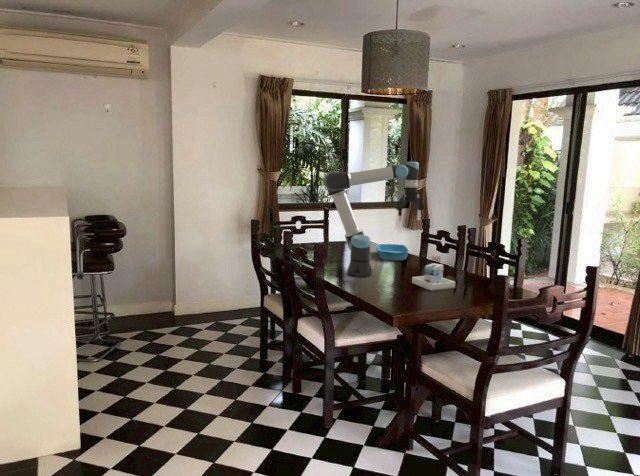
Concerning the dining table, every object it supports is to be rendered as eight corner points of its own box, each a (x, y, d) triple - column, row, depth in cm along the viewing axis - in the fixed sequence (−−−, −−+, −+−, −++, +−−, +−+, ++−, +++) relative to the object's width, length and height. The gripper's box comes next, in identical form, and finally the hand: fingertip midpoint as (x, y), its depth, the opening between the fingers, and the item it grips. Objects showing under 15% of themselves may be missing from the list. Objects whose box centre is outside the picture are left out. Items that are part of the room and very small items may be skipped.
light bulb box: (434, 286, 278) (435, 267, 276) (423, 284, 282) (424, 265, 280) (442, 283, 286) (444, 264, 285) (431, 281, 290) (433, 262, 289)
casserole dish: (374, 251, 382) (374, 242, 381) (403, 252, 382) (404, 243, 380) (377, 261, 346) (378, 251, 345) (410, 262, 345) (411, 252, 344)
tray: (431, 290, 273) (432, 284, 272) (412, 283, 289) (412, 277, 288) (455, 288, 280) (455, 282, 279) (434, 280, 296) (434, 274, 295)
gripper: (398, 187, 305) (396, 222, 308) (431, 187, 315) (429, 220, 319) (391, 186, 311) (389, 220, 315) (424, 186, 322) (422, 219, 325)
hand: (409, 220), depth 317 cm, fingers open, 13 cm apart
